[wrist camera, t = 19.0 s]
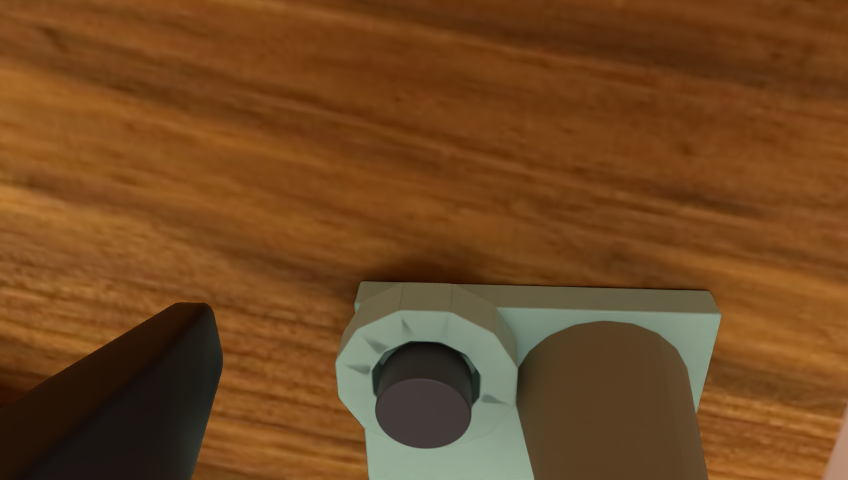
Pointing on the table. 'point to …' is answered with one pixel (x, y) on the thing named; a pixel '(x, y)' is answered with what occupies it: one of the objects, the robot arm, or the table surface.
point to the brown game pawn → (608, 406)
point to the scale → (494, 358)
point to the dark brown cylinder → (424, 396)
